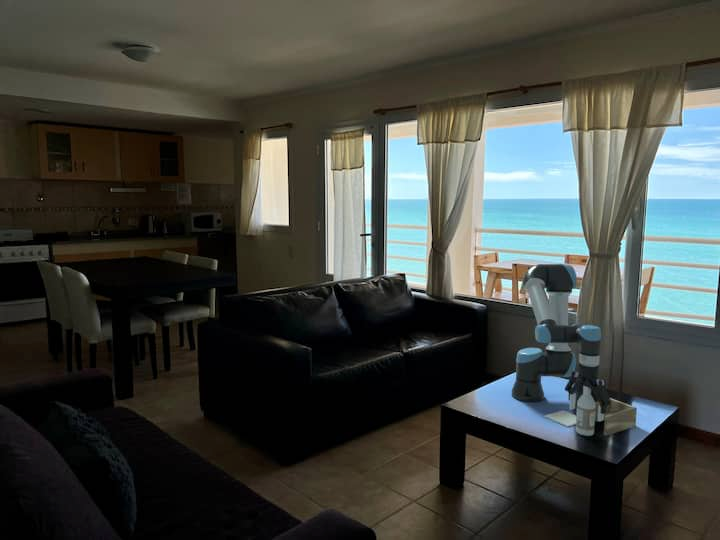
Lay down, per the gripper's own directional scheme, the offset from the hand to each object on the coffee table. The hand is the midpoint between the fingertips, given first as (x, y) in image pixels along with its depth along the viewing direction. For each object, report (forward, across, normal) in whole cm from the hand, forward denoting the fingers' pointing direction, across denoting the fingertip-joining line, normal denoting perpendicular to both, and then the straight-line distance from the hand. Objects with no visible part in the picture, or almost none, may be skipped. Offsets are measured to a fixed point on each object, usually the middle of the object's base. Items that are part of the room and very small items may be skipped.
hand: (585, 414), depth 210 cm
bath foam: (+8, 0, 0) cm, 8 cm away
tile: (+8, -13, +4) cm, 16 cm away
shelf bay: (+8, 0, +14) cm, 16 cm away
